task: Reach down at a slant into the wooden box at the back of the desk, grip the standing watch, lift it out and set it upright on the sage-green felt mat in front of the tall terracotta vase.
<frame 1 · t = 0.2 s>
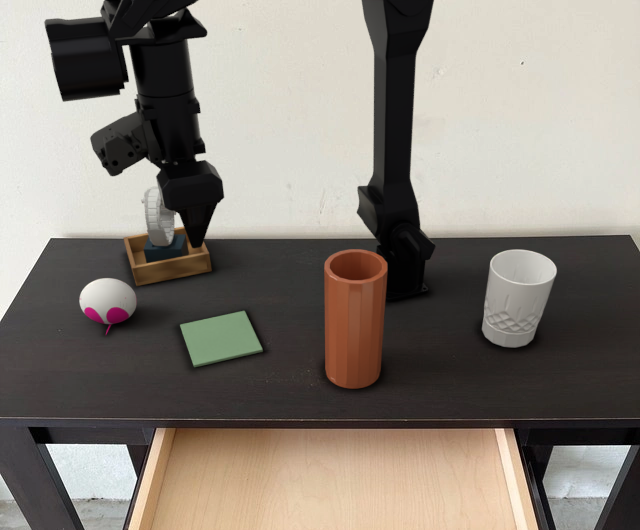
hand: (188, 228, 78), 15 cm above the table, tool pointing down, fingers open, 9 cm apart
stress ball: (112, 322, 90), on the table
wooden box: (169, 262, 100), on the table
white cup: (507, 333, 87), on the table
mat: (220, 339, 87), on the table
watch: (168, 261, 100), resting on wooden box
vase: (352, 370, 82), on the table
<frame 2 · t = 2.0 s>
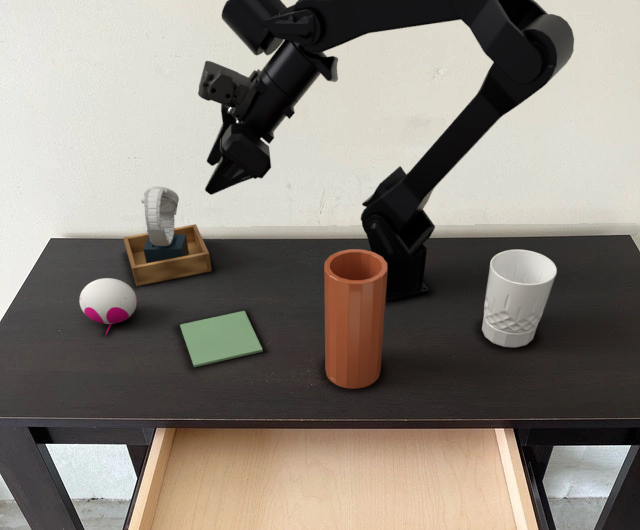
hand: (208, 177, 90), 13 cm above the table, tool tilted 45°, fingers open, 9 cm apart
nothing on the table moved.
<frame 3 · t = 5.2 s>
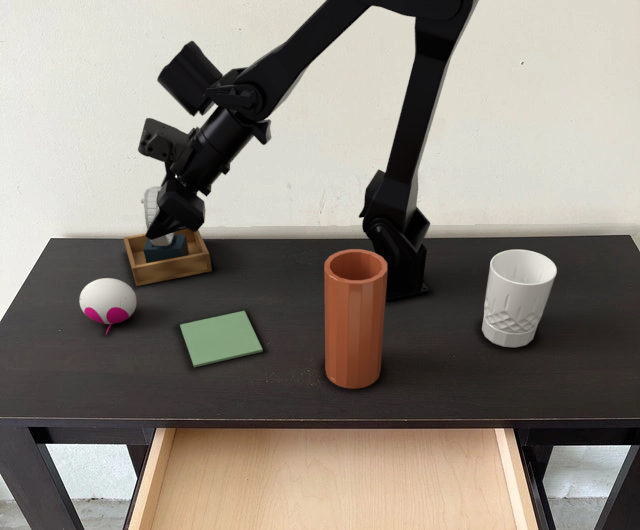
hand: (151, 222, 95), 7 cm above the table, tool tilted 45°, fingers closed on watch, 8 cm apart
watch: (168, 261, 100), resting on wooden box, touching gripper
everything else where it was.
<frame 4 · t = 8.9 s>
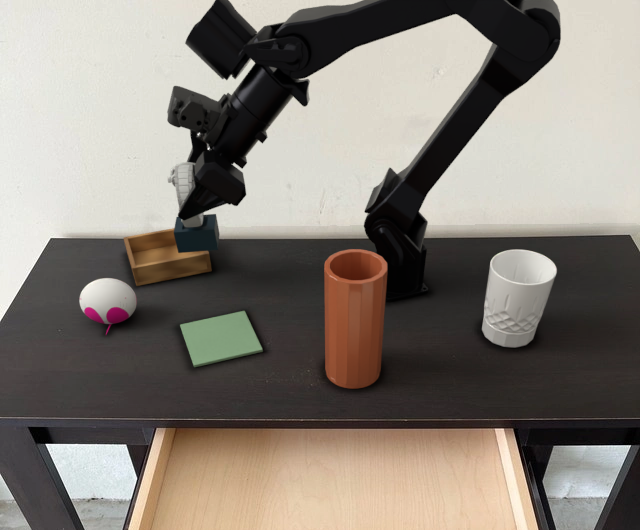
hand: (180, 202, 88), 12 cm above the table, tool tilted 45°, fingers closed on watch, 8 cm apart
watch: (199, 244, 93), point 6 cm above the table, touching gripper
everything else where it was.
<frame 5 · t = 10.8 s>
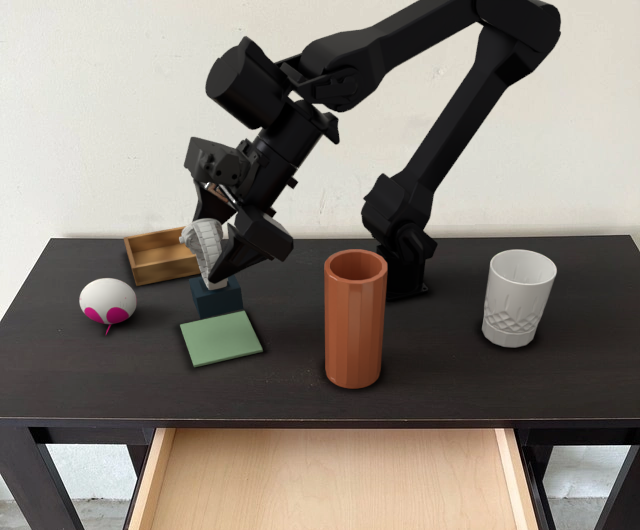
hand: (199, 264, 78), 12 cm above the table, tool tilted 45°, fingers closed on watch, 8 cm apart
watch: (217, 305, 83), point 5 cm above the table, touching gripper
everything else where it was.
when the fingers open (7 cm above the table, at t = 12.8 s): watch stays where it is, resting on mat.
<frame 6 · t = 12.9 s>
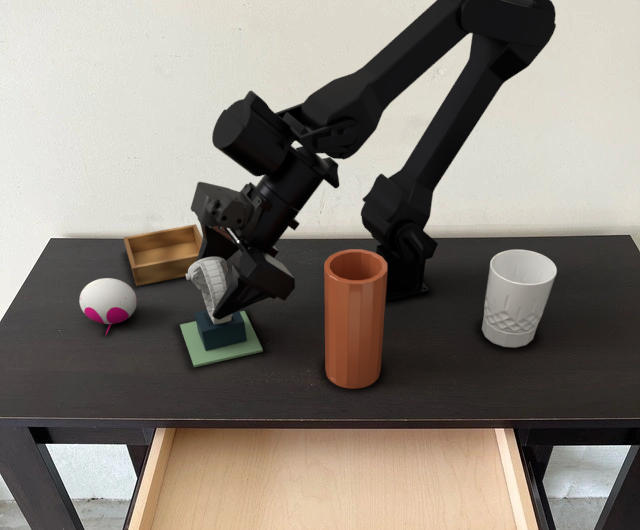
hand: (204, 299, 82), 7 cm above the table, tool tilted 45°, fingers open, 8 cm apart
watch: (222, 337, 87), resting on mat
everything else where it was.
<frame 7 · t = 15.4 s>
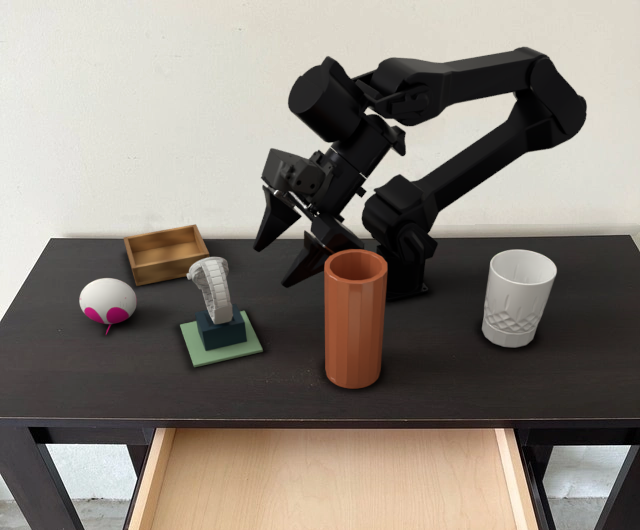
hand: (269, 267, 83), 9 cm above the table, tool tilted 45°, fingers open, 9 cm apart
nothing on the table moved.
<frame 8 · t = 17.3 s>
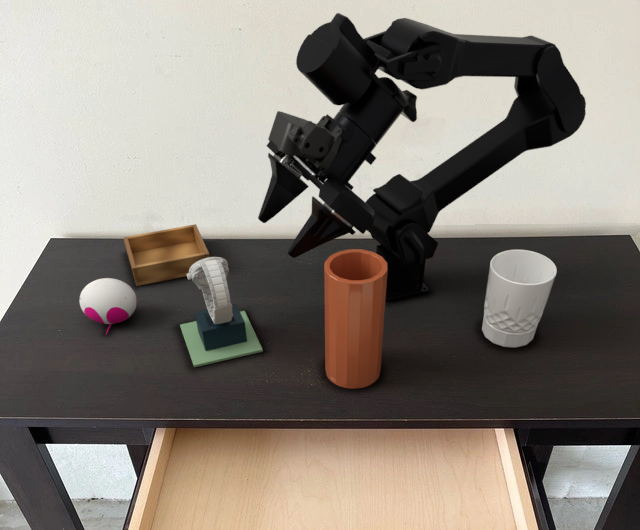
hand: (275, 237, 80), 13 cm above the table, tool tilted 45°, fingers open, 9 cm apart
nothing on the table moved.
at the end: watch inside the target area on the mat (0.2 cm from its centre), point 0.2 cm above the mat's base; watch touching mat; watch 18.3 cm from the vase (horizontally) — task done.
